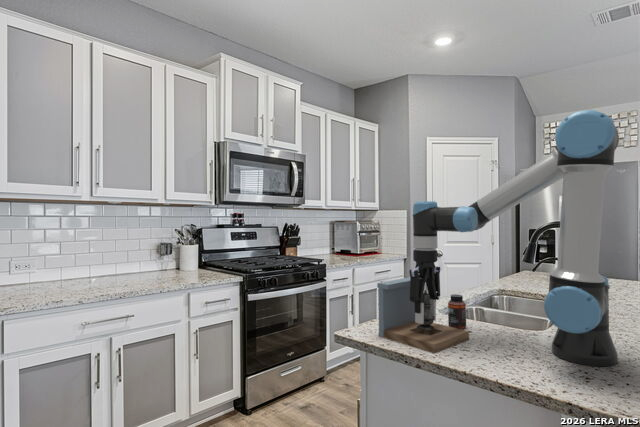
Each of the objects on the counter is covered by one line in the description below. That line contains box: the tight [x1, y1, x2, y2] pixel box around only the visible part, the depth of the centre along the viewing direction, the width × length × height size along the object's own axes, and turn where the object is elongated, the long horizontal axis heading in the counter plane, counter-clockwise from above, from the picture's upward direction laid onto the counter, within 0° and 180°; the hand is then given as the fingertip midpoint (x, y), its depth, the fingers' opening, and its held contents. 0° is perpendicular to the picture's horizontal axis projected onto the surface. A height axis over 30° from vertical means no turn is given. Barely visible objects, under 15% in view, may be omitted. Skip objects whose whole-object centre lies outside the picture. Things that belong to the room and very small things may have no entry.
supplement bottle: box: [447, 293, 467, 330], centre depth 137 cm, size 6×6×11 cm
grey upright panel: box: [376, 276, 422, 339], centre depth 132 cm, size 4×20×18 cm, turn 130°
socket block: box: [383, 321, 470, 354], centre depth 125 cm, size 19×19×2 cm
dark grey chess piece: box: [417, 289, 435, 330], centre depth 125 cm, size 6×6×12 cm
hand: (425, 321), depth 125 cm, fingers closed on dark grey chess piece, 6 cm apart
